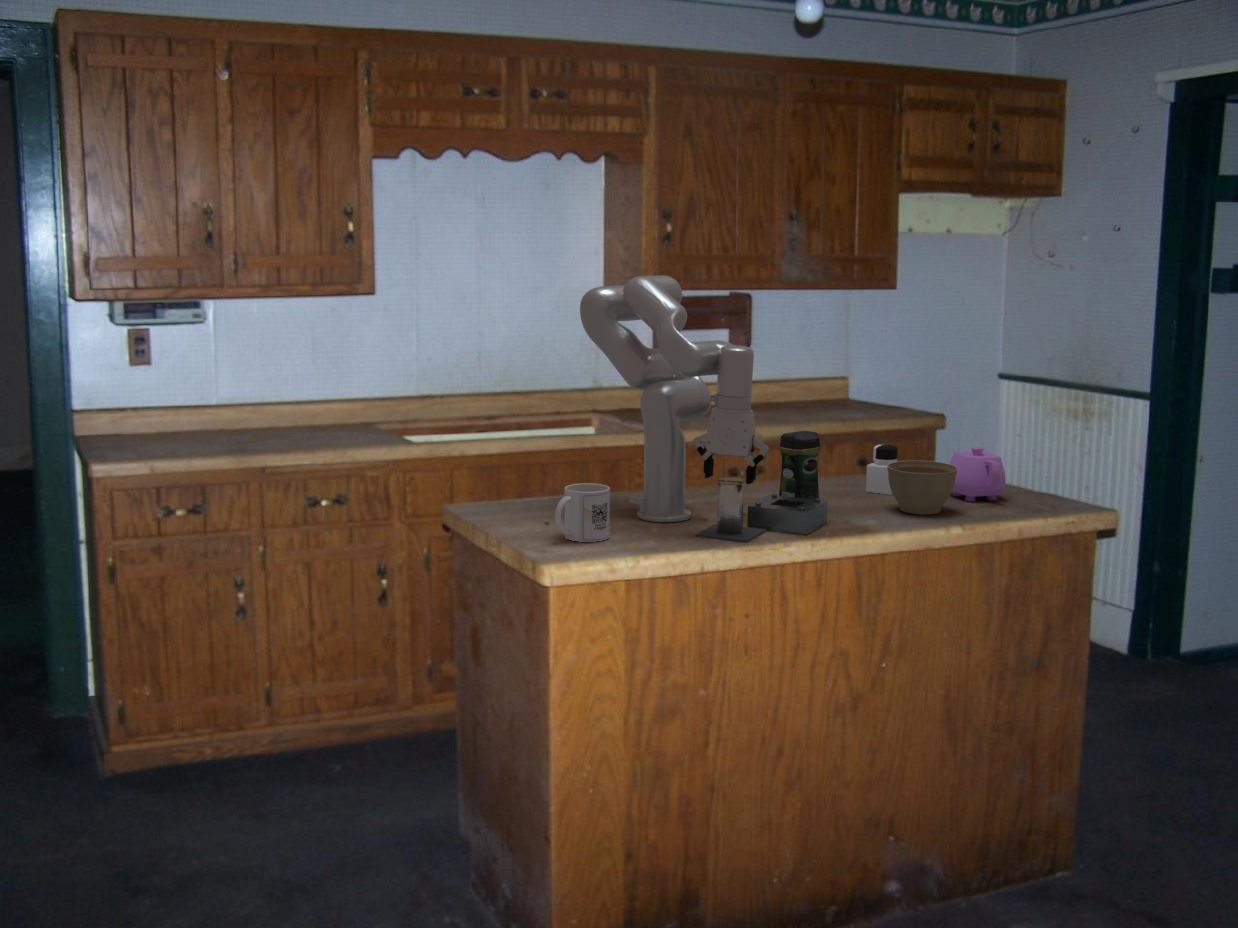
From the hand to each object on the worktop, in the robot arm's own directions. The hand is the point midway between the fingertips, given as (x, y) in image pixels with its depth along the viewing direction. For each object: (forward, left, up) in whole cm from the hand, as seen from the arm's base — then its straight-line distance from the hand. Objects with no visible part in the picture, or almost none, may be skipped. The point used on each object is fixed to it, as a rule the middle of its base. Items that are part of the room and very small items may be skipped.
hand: (729, 480), depth 281 cm
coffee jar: (+5, +33, -12) cm, 35 cm away
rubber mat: (+1, 0, -12) cm, 12 cm away
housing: (+9, +14, -12) cm, 20 cm away
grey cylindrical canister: (+1, 0, -11) cm, 11 cm away
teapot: (+40, +66, -12) cm, 78 cm away
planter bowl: (+32, +43, -12) cm, 55 cm away
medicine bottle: (+18, +62, -12) cm, 65 cm away
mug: (-26, -19, -12) cm, 35 cm away
